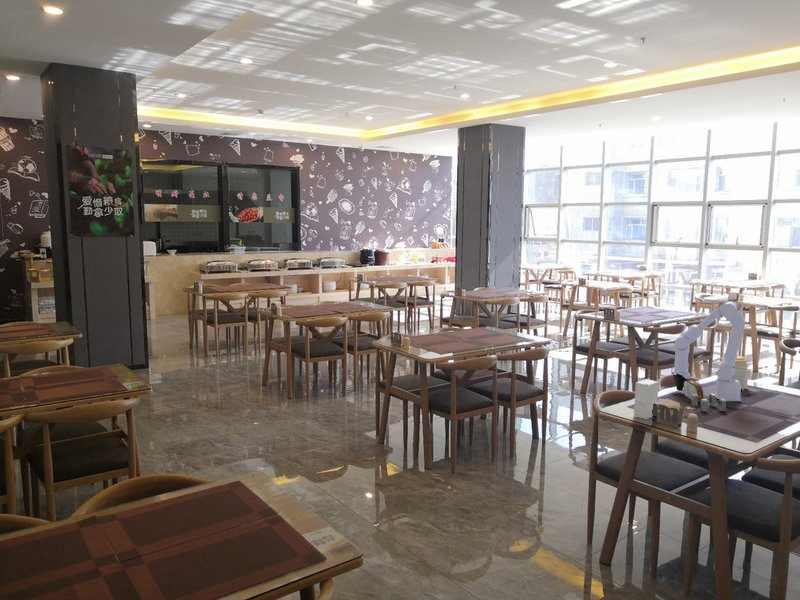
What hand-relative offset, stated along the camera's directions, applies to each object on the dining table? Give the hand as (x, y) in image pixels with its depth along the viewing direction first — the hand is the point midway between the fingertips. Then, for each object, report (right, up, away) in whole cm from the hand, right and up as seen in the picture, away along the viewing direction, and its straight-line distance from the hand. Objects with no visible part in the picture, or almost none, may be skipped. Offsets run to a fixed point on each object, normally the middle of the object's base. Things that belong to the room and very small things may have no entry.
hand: (679, 390), depth 292 cm
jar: (+30, 0, +10) cm, 31 cm away
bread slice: (0, -3, -12) cm, 12 cm away
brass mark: (-7, -4, -25) cm, 27 cm away
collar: (+1, -4, -21) cm, 22 cm away
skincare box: (-31, -6, -37) cm, 49 cm away
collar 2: (+1, -5, -29) cm, 30 cm away
